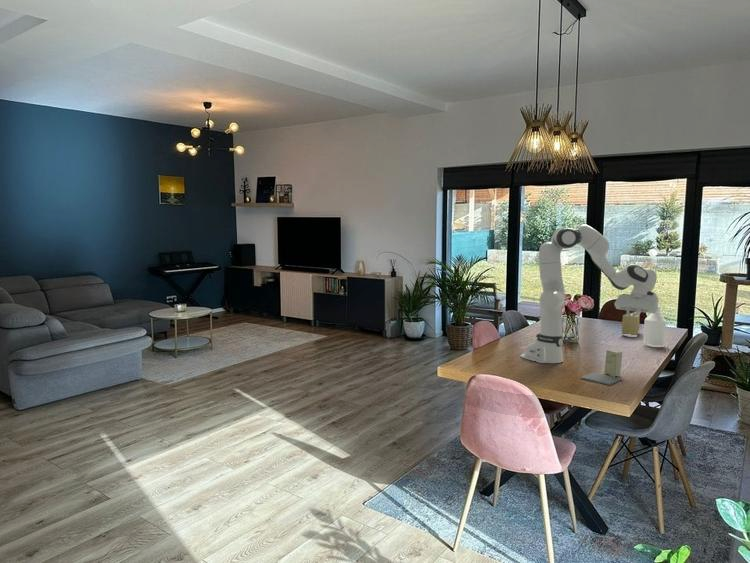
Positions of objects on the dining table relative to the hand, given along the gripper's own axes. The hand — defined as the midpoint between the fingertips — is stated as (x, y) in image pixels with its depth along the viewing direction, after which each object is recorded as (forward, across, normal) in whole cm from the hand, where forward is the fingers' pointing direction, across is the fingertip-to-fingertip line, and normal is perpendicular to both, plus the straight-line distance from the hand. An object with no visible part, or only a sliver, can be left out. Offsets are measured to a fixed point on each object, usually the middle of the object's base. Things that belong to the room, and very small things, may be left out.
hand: (630, 316), depth 273 cm
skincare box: (+32, 0, +7) cm, 33 cm away
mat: (+40, 0, -1) cm, 40 cm away
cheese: (-48, -36, +88) cm, 106 cm away
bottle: (-30, -13, +70) cm, 77 cm away
